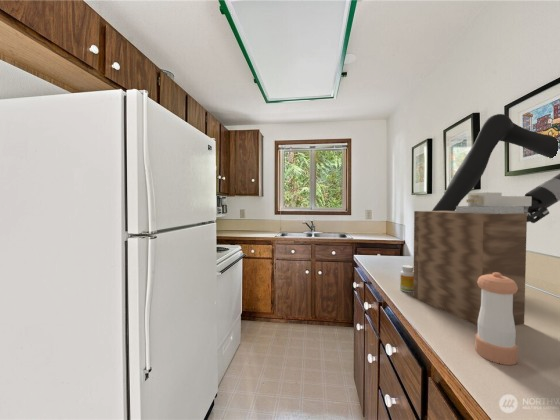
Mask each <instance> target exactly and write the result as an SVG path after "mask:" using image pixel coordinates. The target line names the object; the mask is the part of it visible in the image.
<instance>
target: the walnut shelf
mask: <svg viewBox="0 0 560 420" xmlns="http://www.w3.org/2000/svg"><path fill="white" fill-rule="evenodd" d="M413 213H414V216H413V217H414V219H413V222H414V223H413V224H414V225H413V226H414V227H413V272H414V285H413V292H412V293H413V294H412V295H413V297H414V298H415V299H418V300H420V301H422V302H424V303H426V304H429V305H431V306H433V307H435V308H437V309H440V310H442V311H444V312H446V313H449V314H450V315H453V316H454V317H457V318H459V319H461V320H463V321H466V322H468V323H470V324H471V325H475V326H477V327H478V317H479V312H480V308H481V290H482V288H480V287H479V286H478V283H477V281H478V278H479V277H480V276H482V275H487V274H493V273H494V272H498V273H500V274H501V275H502V276H505V277H508V278H510V279H512V280H513V281H515V283H516V284H517V287H518V290H517V292H516V293H515V294H513V318H514V324H515V327H516V326H521V325H525V311H526V310H525V306H526V303H525V302H526V269H527V268H526V265H527V263H526V261H527V230H528V229H527V228H528V227H527V226H528V222H527V213H519V214H480V213H456V210H455V211H432V210H414V212H413Z"/></svg>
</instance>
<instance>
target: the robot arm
mask: <svg viewBox="0 0 560 420" xmlns="http://www.w3.org/2000/svg"><path fill="white" fill-rule="evenodd" d="M555 137H556V136H554V137H553V135H549V134H544V133H540V132H537V131H536V132H535V131H534V130H533V131H532V130H529V129H526V128H524V127H522V126H519V125H518V124H516V123H514V122H513V120H512V119H511V118H510V117H509V116H508V115H506V114H504V113H497V114H494V115H492V116H490V117H488V118H487V119H486V120H485V121H484V123H483V124H482V126H481V128H480V131H479V132H478V135H477V137H476V139H475V141H474V142H473V145H472V147H471V148H470V150H469V151H468V152H467V154H466V155H465V157H464V158H463V160H462V162H461V163H460V165H459V167H458V168H457V169H456V171H455V172H454V175H453V176H452V179H451V180H450V182H449V184H448V185H447V188H446V189H445V192H444V194H443V195H442V196H441V197H440V199H439V201H437V203H436V205H435V206H434V207H433V208H432V209H431V211H456V206H460V203H461V202H462V200H464V198H465V197H466V196H468V193H471V191H472V190H473V189H474V188H475V187H476V186H477V184H478V183H479V181H480V179H481V178H482V176H483V174H484V173H485V171H486V168H487V166H488V163H489V160H490V158H491V155H492V152H493V151H494V150H495V147H496V146H497V145H498V143H499V142H503V143H504V142H505V143H508V144H512V145H516V146H518V147H521V148H524V149H527V150H528V151H532V152H533V153H535V154H536V153H537V154H538V155H540V156H543V157H546V158H548V157H549V159H551V158H553V157H554V156H556V154H557V151H558V141H557V139H556V138H555ZM524 196H532V201H531V206H524V213H527V223H531V224H535V223H537V222H538V221H540V220H542V219H543V218H545V217H546V216H548V215H550V211H549V209H548V208H550V207H551V206H553V205H555V204H556V203H558V202H560V173H558V174H556V175H555V176H553V177H552V178H549V179H548V180H546V181H544V182H542V183H540V184H539V185H537V186H536V187H535V188H534V187H533V188H532V189H531V190H529V191H528V192H526V193H525V195H524Z"/></svg>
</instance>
